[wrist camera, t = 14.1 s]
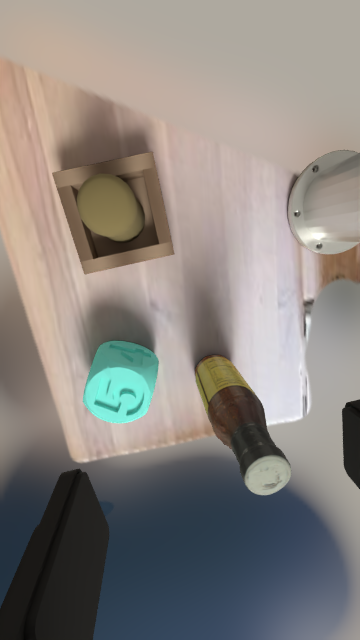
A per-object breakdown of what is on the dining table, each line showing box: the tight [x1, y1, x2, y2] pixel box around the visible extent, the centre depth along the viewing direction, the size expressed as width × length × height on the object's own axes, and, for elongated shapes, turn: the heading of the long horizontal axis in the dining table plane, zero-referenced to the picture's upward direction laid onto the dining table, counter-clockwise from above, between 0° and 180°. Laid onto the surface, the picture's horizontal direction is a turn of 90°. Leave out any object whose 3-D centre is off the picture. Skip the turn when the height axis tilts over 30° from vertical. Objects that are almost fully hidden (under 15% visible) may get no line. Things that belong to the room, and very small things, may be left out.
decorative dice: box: [83, 341, 159, 423], centre depth 34 cm, size 8×8×8 cm
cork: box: [77, 174, 145, 243], centre depth 27 cm, size 6×6×11 cm
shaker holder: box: [52, 152, 174, 274], centre depth 31 cm, size 11×11×4 cm
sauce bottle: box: [195, 355, 291, 495], centre depth 30 cm, size 7×6×20 cm
